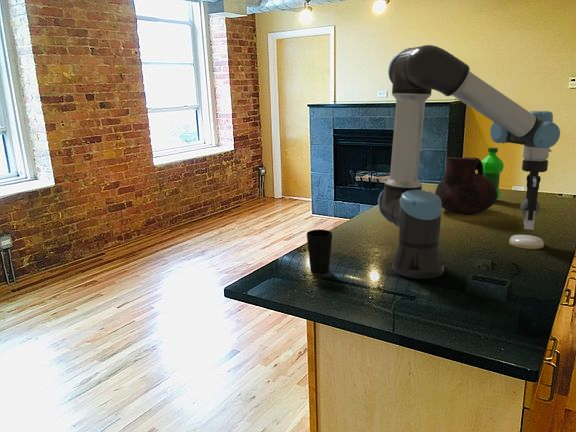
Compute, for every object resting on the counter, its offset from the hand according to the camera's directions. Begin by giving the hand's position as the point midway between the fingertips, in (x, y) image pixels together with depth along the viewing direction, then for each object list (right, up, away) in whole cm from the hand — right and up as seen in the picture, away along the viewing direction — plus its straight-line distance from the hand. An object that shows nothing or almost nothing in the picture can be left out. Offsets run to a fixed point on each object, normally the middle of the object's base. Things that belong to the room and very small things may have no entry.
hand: (528, 226), depth 162 cm
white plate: (0, -6, +2) cm, 6 cm away
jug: (-6, +5, +44) cm, 45 cm away
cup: (-73, -13, -17) cm, 76 cm away
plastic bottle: (+13, +11, +64) cm, 66 cm away
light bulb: (0, 0, 0) cm, 0 cm away
